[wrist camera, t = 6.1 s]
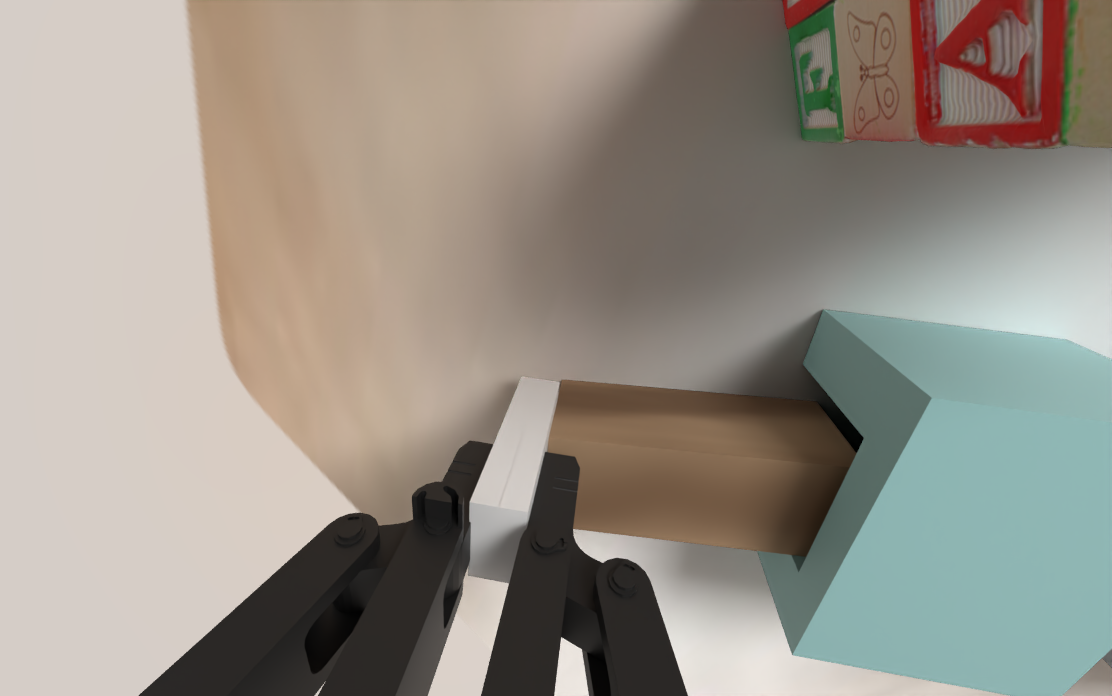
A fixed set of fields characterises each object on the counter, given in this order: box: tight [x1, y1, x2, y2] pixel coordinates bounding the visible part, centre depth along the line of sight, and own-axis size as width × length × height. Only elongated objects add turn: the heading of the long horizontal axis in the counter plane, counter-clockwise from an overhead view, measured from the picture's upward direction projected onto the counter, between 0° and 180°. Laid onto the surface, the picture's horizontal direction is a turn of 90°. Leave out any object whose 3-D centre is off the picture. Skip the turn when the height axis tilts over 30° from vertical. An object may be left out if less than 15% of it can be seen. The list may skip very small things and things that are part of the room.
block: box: [757, 309, 1112, 696], centre depth 15 cm, size 10×8×6 cm
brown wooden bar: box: [548, 380, 857, 557], centre depth 17 cm, size 4×10×4 cm, turn 88°
